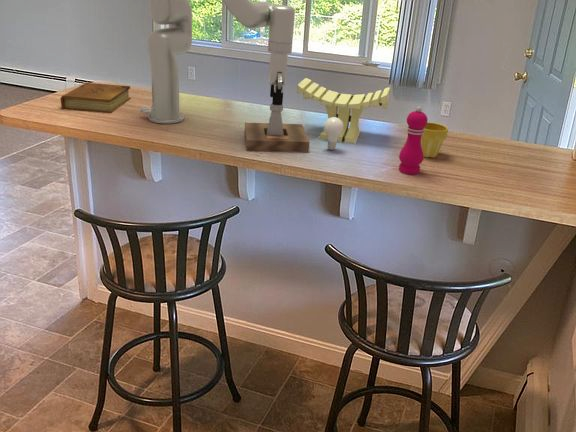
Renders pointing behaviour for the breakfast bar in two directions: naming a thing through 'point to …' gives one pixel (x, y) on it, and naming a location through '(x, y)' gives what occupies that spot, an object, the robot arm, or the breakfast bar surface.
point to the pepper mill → (413, 143)
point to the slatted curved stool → (343, 106)
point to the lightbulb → (333, 131)
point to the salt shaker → (275, 120)
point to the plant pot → (433, 138)
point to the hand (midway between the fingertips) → (276, 100)
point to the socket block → (276, 138)
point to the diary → (96, 98)
